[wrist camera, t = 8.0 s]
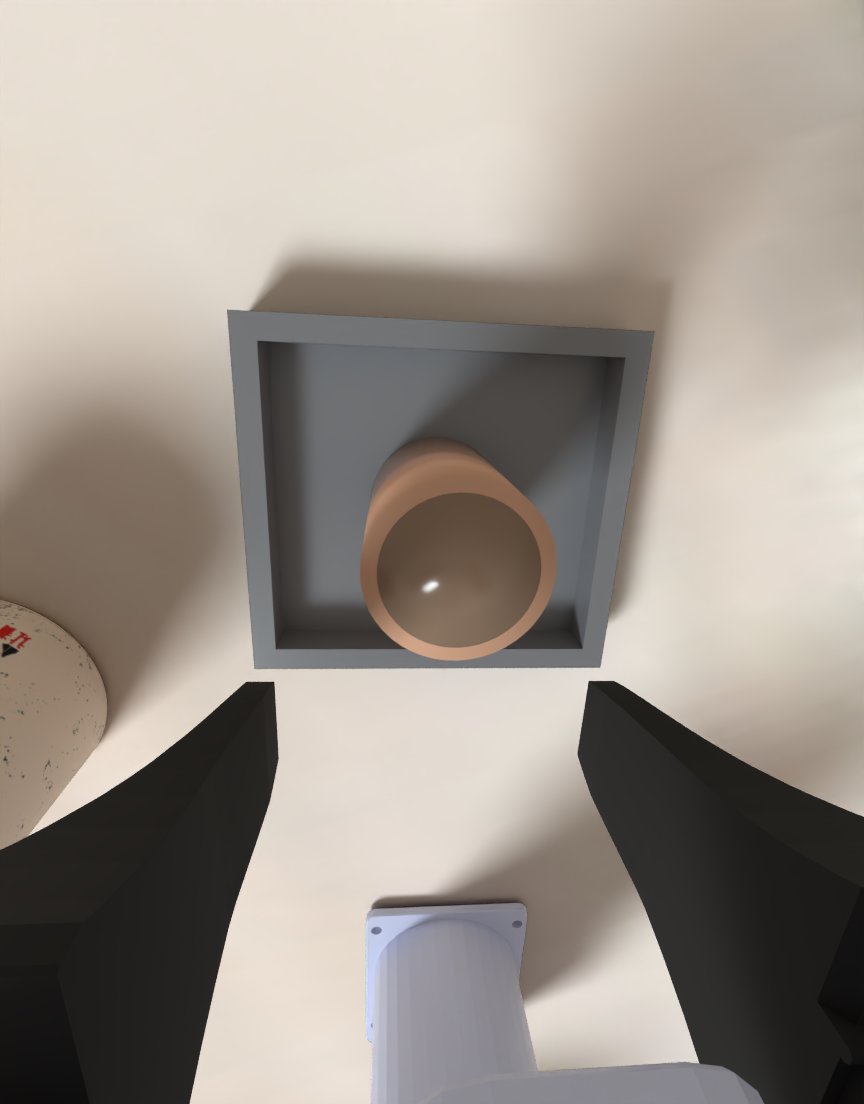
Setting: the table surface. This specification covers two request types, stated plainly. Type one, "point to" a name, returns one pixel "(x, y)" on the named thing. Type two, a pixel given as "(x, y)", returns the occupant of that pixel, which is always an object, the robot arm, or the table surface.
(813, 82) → the table surface
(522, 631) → the terracotta cup
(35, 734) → the teacup with lid
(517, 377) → the charcoal tray
